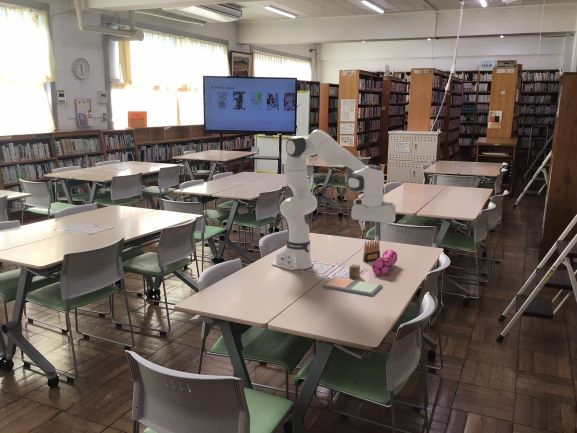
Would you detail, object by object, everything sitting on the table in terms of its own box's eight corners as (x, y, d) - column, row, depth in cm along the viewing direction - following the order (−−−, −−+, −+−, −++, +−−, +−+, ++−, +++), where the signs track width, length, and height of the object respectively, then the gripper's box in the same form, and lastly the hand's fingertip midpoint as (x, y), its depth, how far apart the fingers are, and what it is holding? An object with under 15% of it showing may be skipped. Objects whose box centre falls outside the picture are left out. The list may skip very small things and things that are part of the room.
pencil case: (390, 277, 247) (391, 258, 245) (371, 275, 251) (372, 256, 249) (398, 265, 266) (399, 247, 264) (381, 263, 270) (381, 246, 268)
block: (349, 277, 247) (349, 266, 246) (352, 275, 250) (352, 264, 249) (356, 279, 245) (356, 267, 244) (359, 276, 249) (359, 265, 247)
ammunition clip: (378, 258, 278) (378, 238, 276) (380, 259, 277) (380, 239, 274) (363, 261, 273) (363, 241, 271) (365, 262, 272) (365, 241, 269)
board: (322, 287, 234) (322, 284, 234) (334, 278, 246) (334, 276, 245) (372, 296, 222) (372, 293, 221) (382, 286, 234) (382, 284, 233)
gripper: (397, 201, 218) (396, 231, 221) (355, 198, 228) (354, 226, 231) (393, 204, 213) (392, 234, 216) (350, 200, 223) (349, 229, 226)
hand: (372, 230), depth 223 cm, fingers open, 8 cm apart
